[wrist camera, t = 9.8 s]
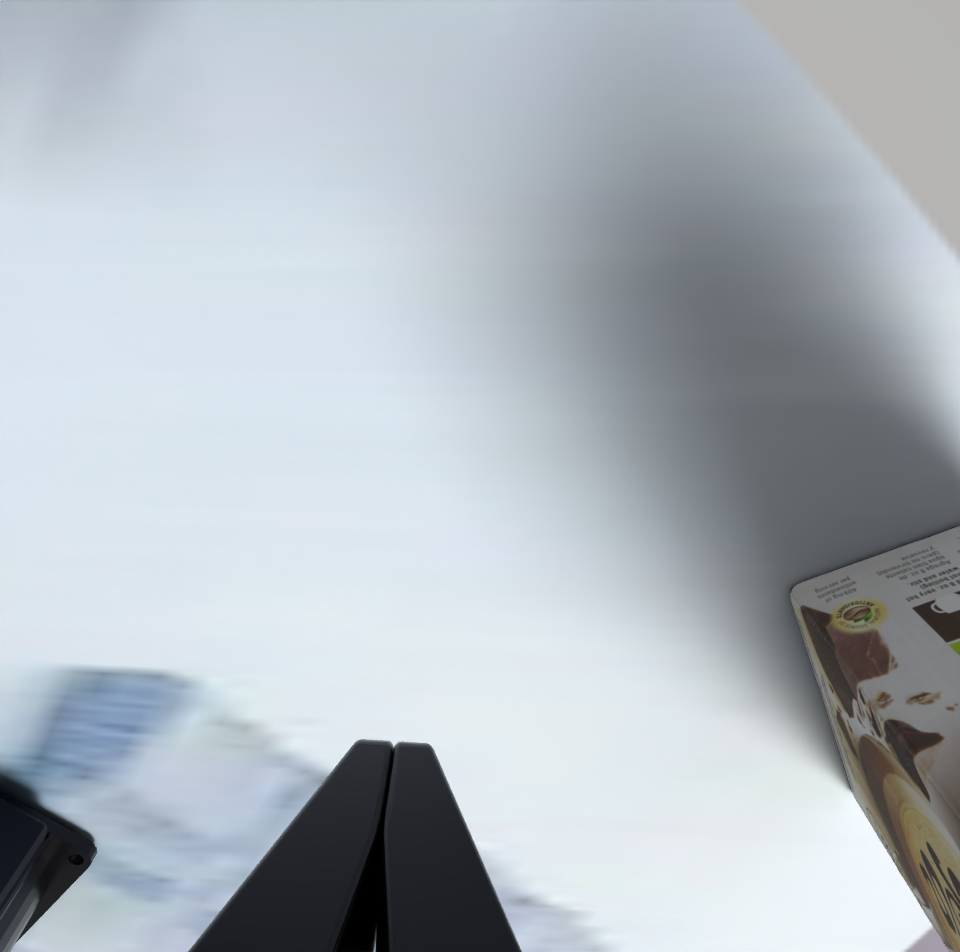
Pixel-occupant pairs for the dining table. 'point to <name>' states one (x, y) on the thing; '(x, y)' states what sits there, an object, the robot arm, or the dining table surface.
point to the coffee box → (897, 704)
